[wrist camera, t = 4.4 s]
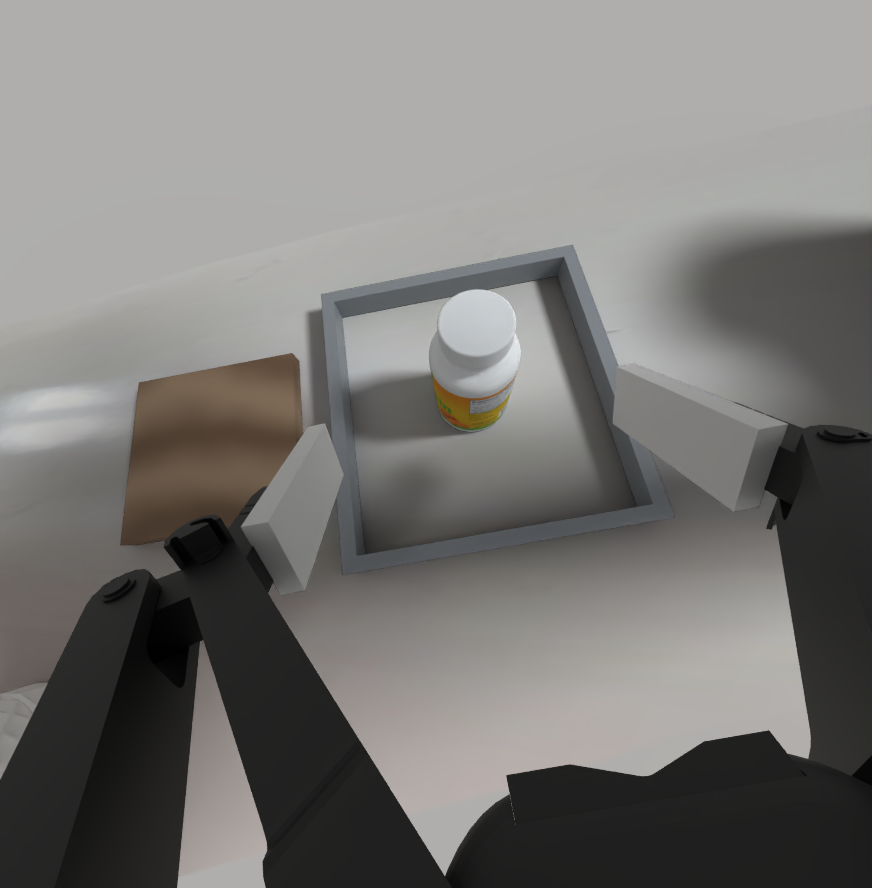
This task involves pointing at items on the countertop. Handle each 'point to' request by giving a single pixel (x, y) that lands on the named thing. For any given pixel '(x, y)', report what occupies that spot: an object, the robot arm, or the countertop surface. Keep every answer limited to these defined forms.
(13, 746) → the white cup
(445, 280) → the tray frame
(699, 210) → the countertop surface
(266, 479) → the walnut board
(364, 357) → the countertop surface
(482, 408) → the supplement bottle
